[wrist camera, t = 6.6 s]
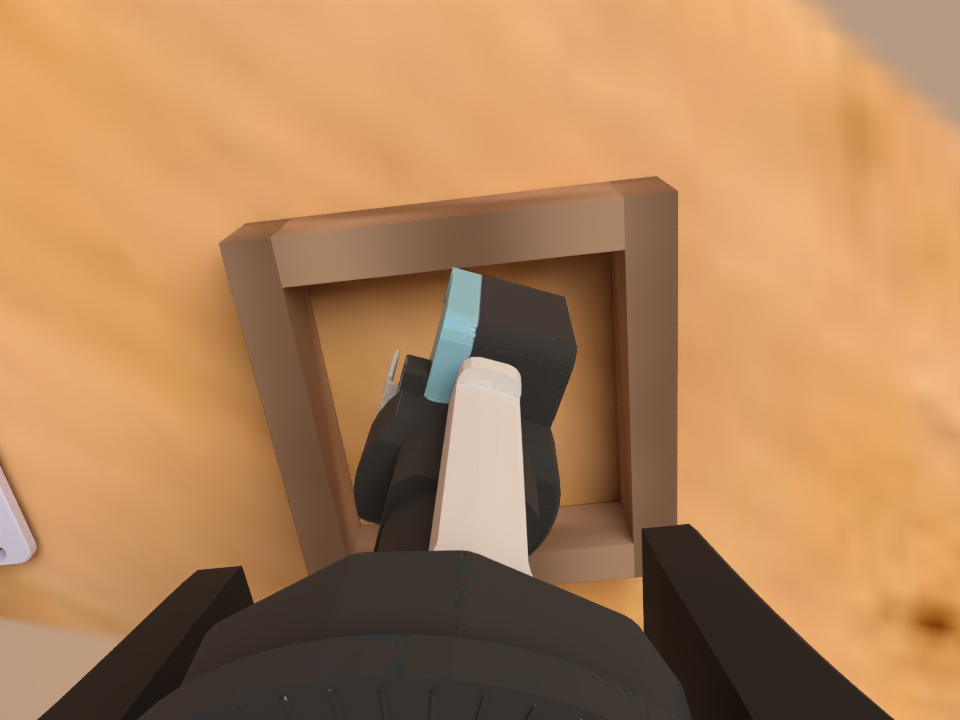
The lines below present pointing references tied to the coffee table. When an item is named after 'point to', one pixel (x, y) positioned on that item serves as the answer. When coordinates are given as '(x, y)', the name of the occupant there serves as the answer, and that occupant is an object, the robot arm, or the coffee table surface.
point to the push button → (444, 558)
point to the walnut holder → (464, 243)
